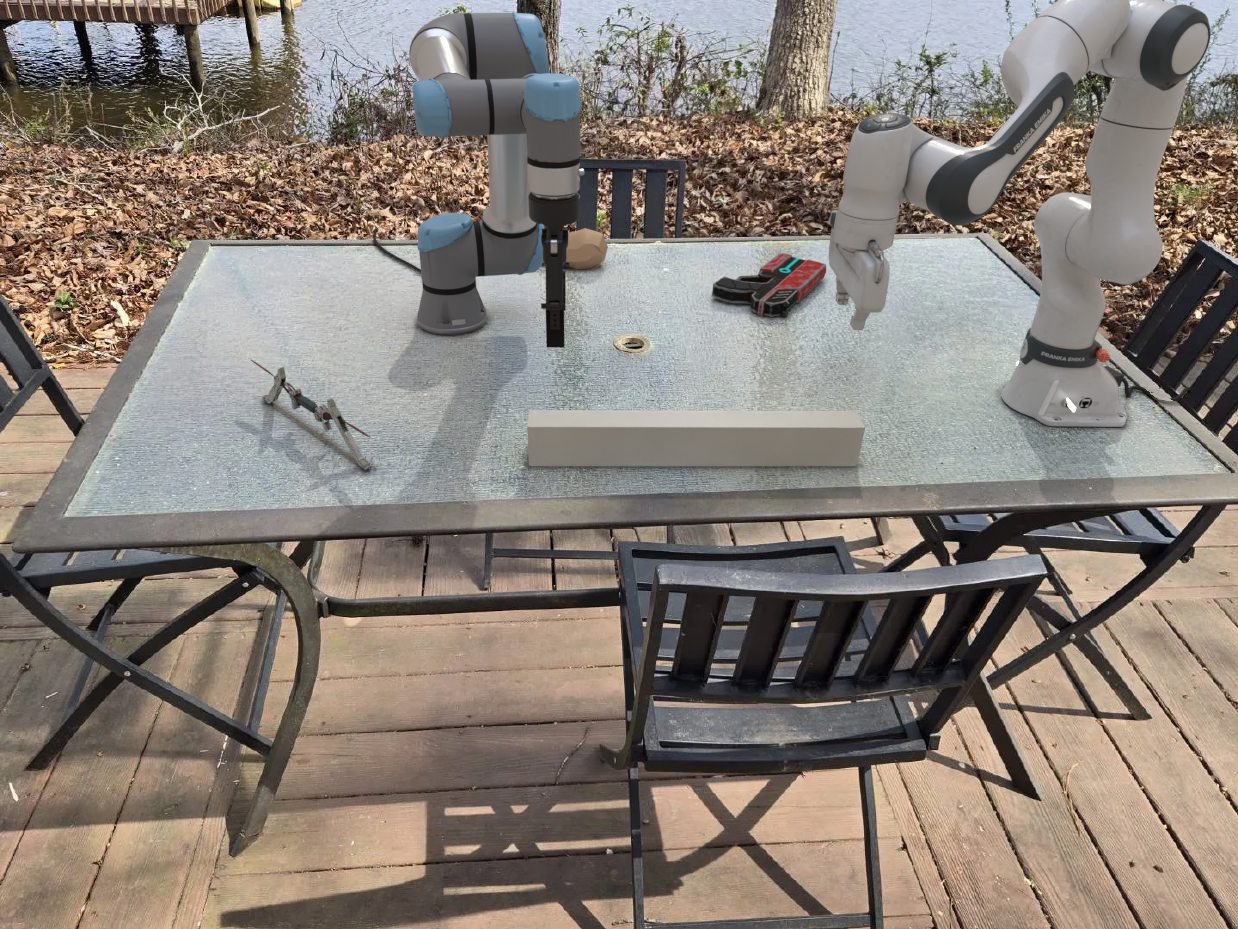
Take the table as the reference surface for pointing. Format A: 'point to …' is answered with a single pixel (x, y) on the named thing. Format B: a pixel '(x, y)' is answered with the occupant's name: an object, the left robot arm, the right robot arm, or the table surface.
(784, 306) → the gun
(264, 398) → the bow
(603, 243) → the squash
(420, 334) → the table surface
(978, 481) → the table surface
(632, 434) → the post
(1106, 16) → the right robot arm
